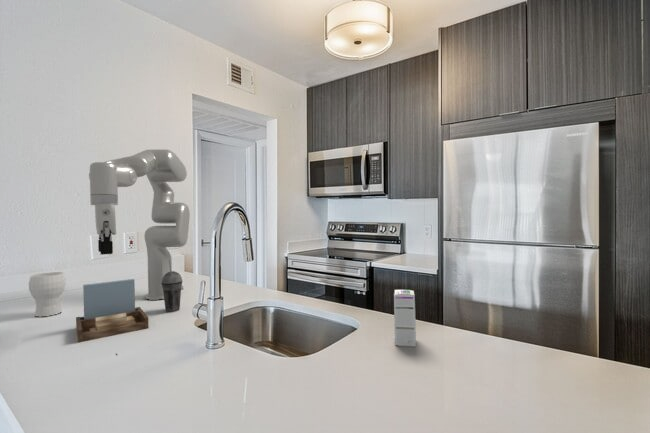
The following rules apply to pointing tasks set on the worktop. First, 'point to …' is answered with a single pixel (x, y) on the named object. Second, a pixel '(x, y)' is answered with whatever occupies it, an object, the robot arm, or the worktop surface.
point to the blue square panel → (108, 298)
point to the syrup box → (404, 318)
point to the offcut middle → (116, 324)
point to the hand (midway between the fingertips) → (105, 252)
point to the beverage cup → (172, 290)
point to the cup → (47, 292)
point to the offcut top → (111, 319)
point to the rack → (86, 335)
